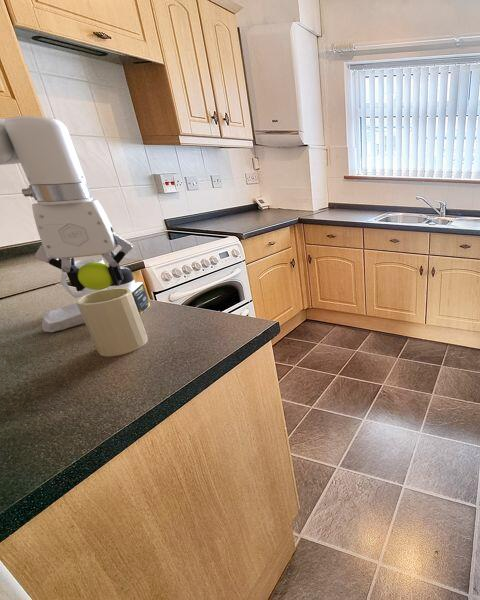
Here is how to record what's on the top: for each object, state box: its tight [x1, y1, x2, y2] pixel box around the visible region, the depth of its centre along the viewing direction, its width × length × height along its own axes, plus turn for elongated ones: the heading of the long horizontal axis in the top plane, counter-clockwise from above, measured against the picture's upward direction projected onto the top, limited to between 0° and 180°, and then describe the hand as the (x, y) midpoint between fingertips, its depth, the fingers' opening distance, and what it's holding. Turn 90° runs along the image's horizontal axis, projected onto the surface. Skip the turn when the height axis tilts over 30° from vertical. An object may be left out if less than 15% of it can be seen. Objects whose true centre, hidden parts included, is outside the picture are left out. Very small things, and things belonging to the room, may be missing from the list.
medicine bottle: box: [107, 266, 151, 316], centre depth 87 cm, size 7×7×12 cm
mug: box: [60, 257, 107, 299], centre depth 93 cm, size 10×7×12 cm, turn 131°
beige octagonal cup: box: [75, 288, 149, 357], centre depth 72 cm, size 9×9×12 cm
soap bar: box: [41, 302, 85, 333], centre depth 83 cm, size 10×6×6 cm, turn 144°
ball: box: [77, 262, 113, 290], centre depth 68 cm, size 6×6×6 cm
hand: (100, 285), depth 69 cm, fingers closed on ball, 5 cm apart
